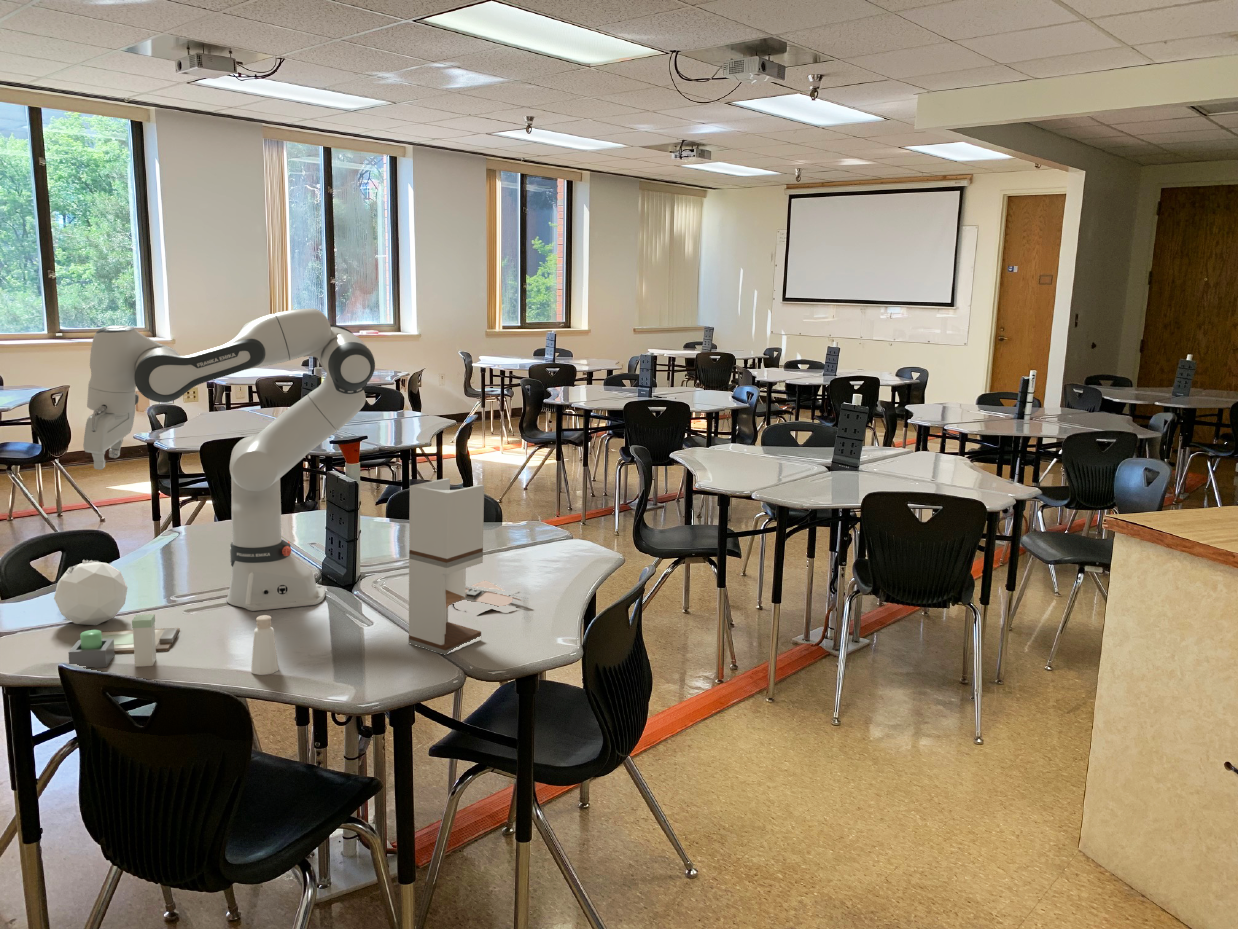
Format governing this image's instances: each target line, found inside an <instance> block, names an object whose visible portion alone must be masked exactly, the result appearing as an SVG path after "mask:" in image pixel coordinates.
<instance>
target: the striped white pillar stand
mask: <svg viewBox="0 0 1238 929" xmlns="http://www.w3.org/2000/svg"><path fill="white" fill-rule="evenodd" d="M450 488H451V478H441V479H435V480H433V481H426V482H422V483H418V484H417V483H416V484H412V485H409V510H408V511H409V518H408V520H409V521H408V523H409V525H408V526H409V530H408V531H409V532H408V534H409V536H408V537H409V538H408V539H409V540H408V542H409V545H408V557H409V558H408V559H409V560H408V564H409V565H408V567H409V568H408V644H409V643H411V644H412V645H411V646H413V645H417V646H420V647H424V648H427V649H429V650H433V651H436V652H438V653H442V654H445V655H446V654H447V653H448V652H449V651H451V650H453V649H454V648H456V647H459V646H460V645H462V644H464V643H467V642H470V641H471V640H473V639H476V638H477V637H480V636H481V637H482V631H480V630H477V629H474V628H470V627H466V626H462V625H460V624H456V623H453V622H451V621H450V622H449V607H450V606H452V604H454V603H456V602H459V601H462V600H464V599H465V594H466V593H465V589H466V586H467V585H466V584H467V583H466V582H467V580H466V575H467V574H466V573H467V568H471V567H473V566H477V565H481V564H483V562H484V557H483V556H484V510H485V509H484V507H485V484H478V485H474V486H470V487H464V488H460V489H458V488H457V489H450ZM429 650H428V651H429ZM438 653H437V654H438ZM446 656H447V655H446Z"/></svg>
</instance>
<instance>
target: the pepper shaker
mask: <svg viewBox="0 0 1238 929" xmlns="http://www.w3.org/2000/svg"><path fill="white" fill-rule="evenodd" d="M255 621H256V628H254V632H253V645H252V654H251V655H252V656H251V665H250V666H251V667H250V669H251V670H250V671H251V672H250V673H251V674H253V675H257V676H267V675H272V674H274V673H276V672H278V671H279V661H278V654H277V647H276V640H275V639H276V638H275V631H274V627H272V617H271V616H270V615H267V614H263V615H258V616H257V617H256V619H255Z"/></svg>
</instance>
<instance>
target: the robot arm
mask: <svg viewBox="0 0 1238 929" xmlns="http://www.w3.org/2000/svg"><path fill="white" fill-rule="evenodd" d="M307 357H313V358H315V359H316V360H317V361H318V362H319V364H320V366H321V367H322V369H323V370H324V371H325V373H326V376H325V378H324V380H323V381H322V382H321V383H320V385H318V386H317V387H316V388H315V389H313V390H312V391H309V393H308V394H307V395H305V396H303V397H302V398H300V400H298V401H297V402H295V403H294V404H293V405H291V406H289V407H288V408H287V409H286V410H284V411H283V412H282V413H280V414H279V415H278V416H277V417H276V418H275V419H273V421H271V422H270V423H268V424H267V426H266V427H264V428H263V429H262V430H261V431H260V432H259V433H257V434H256V435H249V436H245V437H244V438H242V439H240V440H239V441H238V442H237V443H236V444H235V445H234V446H233V448H232V450H231V455H230V460H229V474H230V477H231V479H230V481H231V482H230V483H231V484H230V485H231V491H230V492H231V493H230V494H231V504H230V505H231V506H230V508H231V534H232V535H231V542H230V547H229V558H230V559H229V561H230V566H231V576H230V583H229V589H228V593H227V597H226V602H227V603H228V604H230V605H231V606H235V607H239V608H244V609H246V610H248V611H251V612H252V611H253V612H255V611H266V610H275V609H284V608H296V607H306V606H315V605H318V604H320V603H321V602H323V600H325V598H326V591H325V587H324V586H323V585H322V584H318V583H316V579H315V578H316V577H315V575H314V571H313V569H311V567H309V565H307V564H306V563H303V562H302V561H301V560H299V559H297V558H296V557H294V556H292V554H291V553H292V547H291V543H290V541H289V540H287V541H286V540H284V539H282V538H283V536H282V503H281V502H282V499H281V496H282V495H281V478H282V477H283V476H285V475H286V474H287V473H288V472H289V471H290V470H292V468H294V467H295V466H296V465H297V464H298V463H300V462H301V461H302V460H303V459H304V458H305V457H306V456H307V455H308V454H309V453H311V452H312V451H313V450H314V449H315V448H317V447H318V446H319V445H321V444H322V443H323V442H324V441H326V440H327V439H329V438H330V437H331V436H332V435H334V434H335V433H337V431H339V430H341V429H342V428H343V427H345V425H347V423H349V422H350V421H351V420H352V419H353V418H355V416H356V415H357V414H359V412H360V411H361V409H362V408H363V407H364V406H365V404H366V399H367V398H366V397H367V396H366V393H365V389H366V387H367V385H368V383H369V382H370V380H371V379H372V377H373V376H374V373H375V369H376V361H375V356H374V355H373V352H372V351H371V350H370V349H369V347H367V345H366V343H365V342H364V341H363V340H362V339H361V338H360V337H359V336H357V335H355V334H354V333H353V332H352V331H351V330H349V329H347V328H345V327H342V326H338V325H334V324H331V323H330V321H329V319H328V318H327V316H326V314H324V313H323V312H322V311H321V310H320V309H316V308H311V307H310V308H298V309H289V310H284V311H279V312H278V311H277V312H274V313H269V314H267V315H266V314H265V315H263V316H260V317H257V318H254V319H253V320H251V321H248V322H246V323H245V324H243V326H242V327H241V328H240V330H239V331H238V333H236V335H235V336H234V337H233V338H232V339H231V340H229V341H228V342H226V343H223V344H222V345H219V346H215V347H212V348H209V349H206V350H205V349H204V350H202V351H198V352H194V353H191V354H188V355H180V353H179V352H178V351H177V350H176V349H175V348H172V347H171V346H168V345H166V344H162V343H160V342H157V341H155V340H153V339H151V338H149V337H147V336H146V335H144V334H142V333H141V332H140V331H138V329H136V327H134V326H131V325H124V324H121V325H120V324H116V325H108V326H103V327H102V328H99V329H98V330H97V331H96V332H95V334H94V336H93V339H92V342H91V348H90V356H89V368H90V378H89V381H88V385H87V402H86V407H87V408H88V409H90V410H91V411H92V412H93V413H91V414H90V415H89V416H88V417H87V419H86V422H85V427H84V437H83V450H84V452H85V453H88V454H89V453H91V456H92V459H93V469H95V470H99V471H102V470H103V469H104V468H106V461H107V460H106V459H105V454H106V451H107V450H108V457H109V458H113V459H117V458H118V457H120V455H121V448H122V445H123V442H124V438H125V437H126V436H128V435H129V434H131V432H132V430H133V426H134V421H135V415H136V414H135V413H136V405H138V403H139V401H140V400H139V398H140V395H139V393H140V394H141V395H142V396H143V397H145V398H146V399H148V400H151V401H152V402H155V403H170V402H173V401H177V399H180V398H181V397H183V396H184V395H185V394H187V393H188V392H189V391H190V390H191V389H193V388H195V387H196V386H199V385H201V384H204V383H207V382H210V381H213V380H218V379H220V378H223V377H227V376H230V375H232V374H233V375H234V374H236V373H239V372H242V371H246V370H251V369H255V368H261V367H267V366H273V365H277V364H282V363H285V362H288V361H293V360H296V359H300V358H307ZM136 389H137V390H138V392H139V393H136Z"/></svg>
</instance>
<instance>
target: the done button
mask: <svg viewBox="0 0 1238 929" xmlns="http://www.w3.org/2000/svg"><path fill="white" fill-rule="evenodd" d="M79 636H80V637H79V638H80V640H81V650H85V649H101V648H102V635H101V630H100V629H91V630H85V631H81V633H80V634H79Z"/></svg>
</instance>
